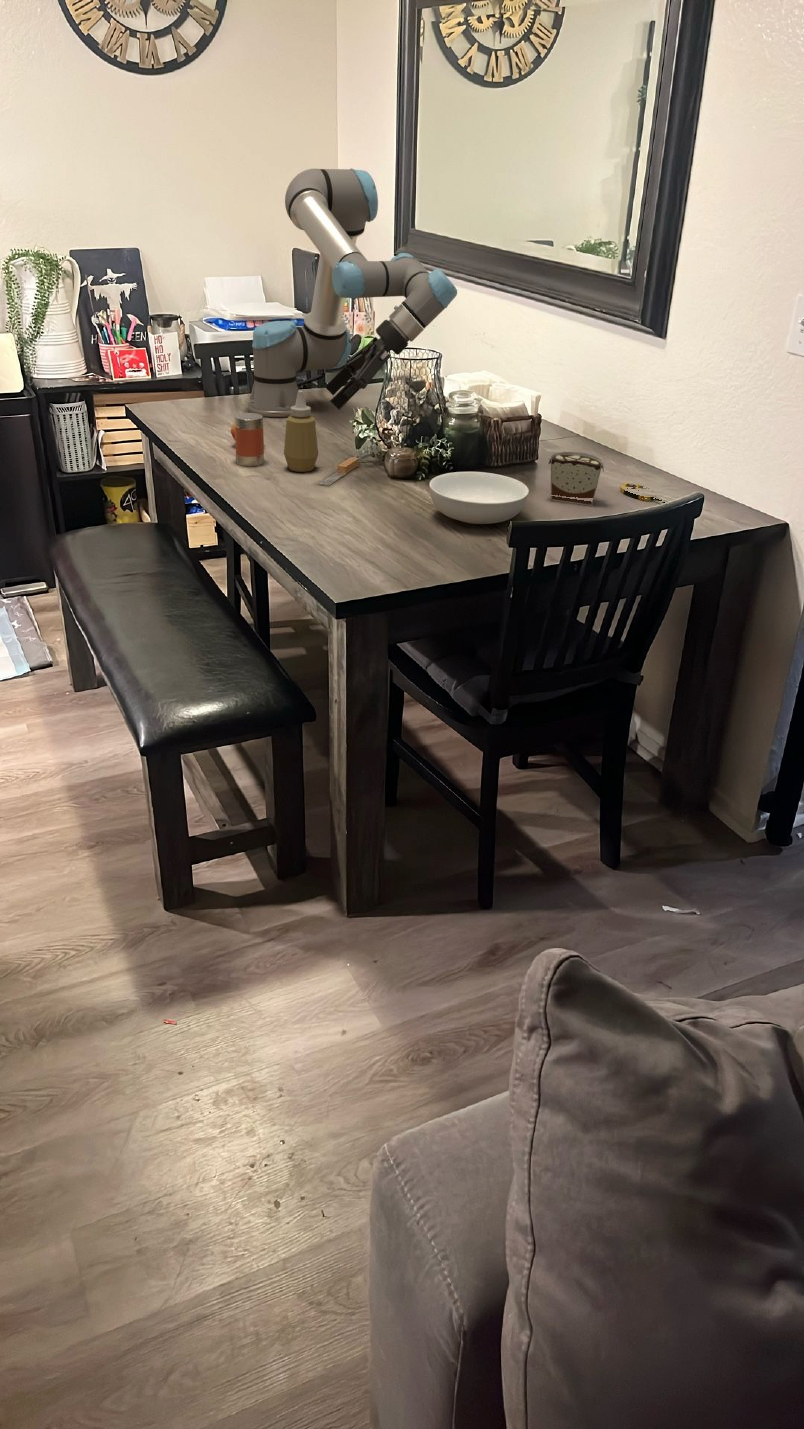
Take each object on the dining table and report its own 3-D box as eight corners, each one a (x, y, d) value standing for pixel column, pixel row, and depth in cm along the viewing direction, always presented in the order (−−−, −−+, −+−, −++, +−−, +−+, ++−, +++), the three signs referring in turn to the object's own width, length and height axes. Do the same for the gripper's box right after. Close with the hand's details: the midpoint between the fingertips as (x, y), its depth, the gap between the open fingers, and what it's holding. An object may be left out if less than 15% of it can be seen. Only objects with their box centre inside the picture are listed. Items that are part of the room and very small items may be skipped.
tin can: (244, 457, 259) (242, 411, 253) (269, 460, 257) (268, 414, 251) (230, 464, 253) (228, 417, 248) (256, 468, 251) (254, 421, 246)
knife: (350, 464, 257) (350, 456, 256) (359, 465, 256) (359, 458, 255) (318, 484, 242) (318, 476, 241) (328, 486, 241) (328, 478, 240)
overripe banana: (631, 480, 247) (680, 498, 237) (630, 488, 248) (679, 506, 238) (616, 483, 245) (665, 501, 234) (615, 491, 246) (663, 510, 235)
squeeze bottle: (284, 463, 255) (282, 387, 246) (318, 464, 256) (318, 387, 247) (283, 473, 248) (282, 395, 239) (318, 474, 249) (318, 396, 240)
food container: (603, 499, 241) (609, 455, 236) (598, 507, 235) (604, 462, 230) (549, 491, 244) (554, 448, 239) (544, 499, 239) (548, 455, 234)
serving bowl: (459, 540, 214) (461, 506, 211) (410, 508, 230) (411, 477, 227) (545, 527, 223) (548, 495, 219) (492, 497, 239) (494, 467, 235)
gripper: (379, 308, 249) (315, 374, 254) (395, 328, 227) (325, 399, 233) (401, 332, 252) (337, 396, 257) (418, 354, 231) (348, 423, 236)
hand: (331, 398), depth 245 cm, fingers open, 13 cm apart
